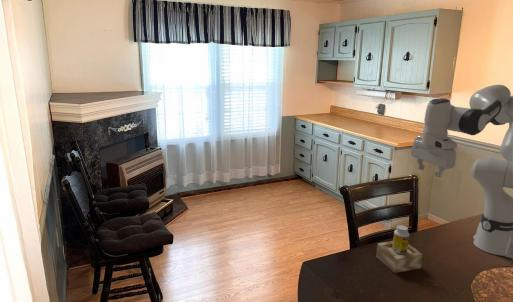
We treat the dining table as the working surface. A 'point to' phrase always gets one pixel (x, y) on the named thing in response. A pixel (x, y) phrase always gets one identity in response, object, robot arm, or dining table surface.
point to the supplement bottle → (400, 240)
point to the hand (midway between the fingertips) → (429, 172)
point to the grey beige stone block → (399, 257)
